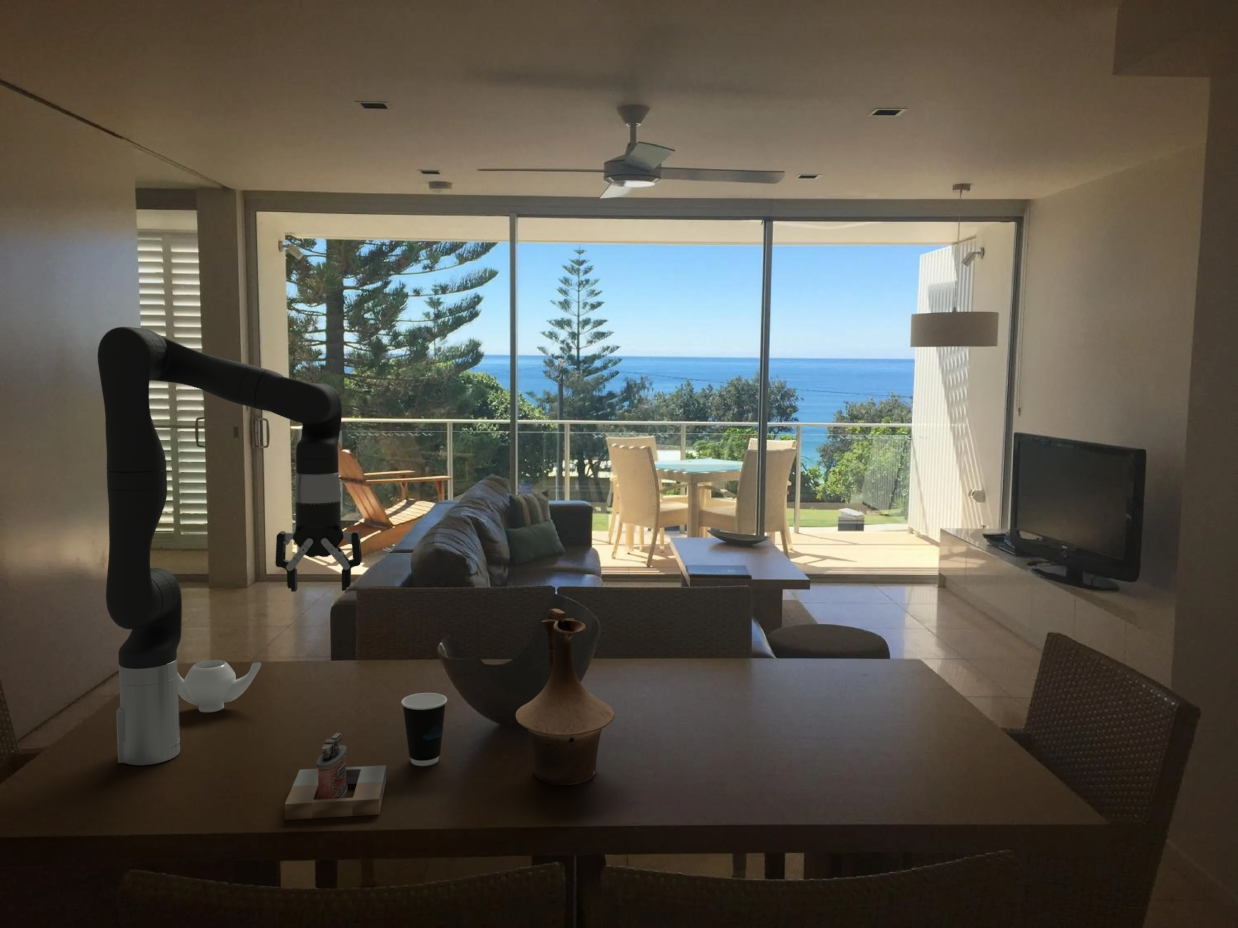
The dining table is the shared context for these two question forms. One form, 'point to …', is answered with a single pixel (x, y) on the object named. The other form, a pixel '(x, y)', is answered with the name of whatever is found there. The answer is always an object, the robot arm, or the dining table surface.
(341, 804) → the tan flat square frame
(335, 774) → the lighter
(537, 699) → the pitcher
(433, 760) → the dixie cup
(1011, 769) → the dining table surface
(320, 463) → the robot arm
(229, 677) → the teapot
